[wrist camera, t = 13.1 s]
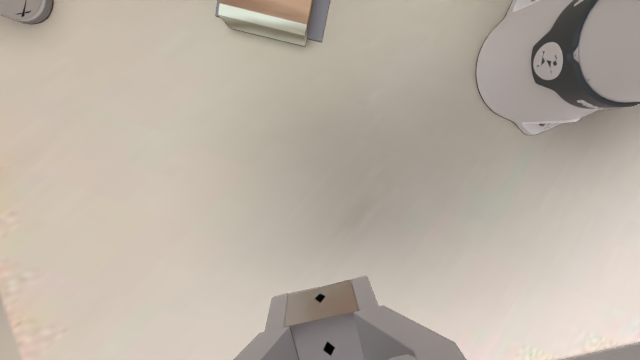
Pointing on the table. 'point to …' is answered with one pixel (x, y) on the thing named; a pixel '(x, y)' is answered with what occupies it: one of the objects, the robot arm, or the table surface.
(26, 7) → the travel mug
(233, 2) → the walnut block
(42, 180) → the table surface
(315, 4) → the mat
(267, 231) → the table surface
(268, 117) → the table surface
